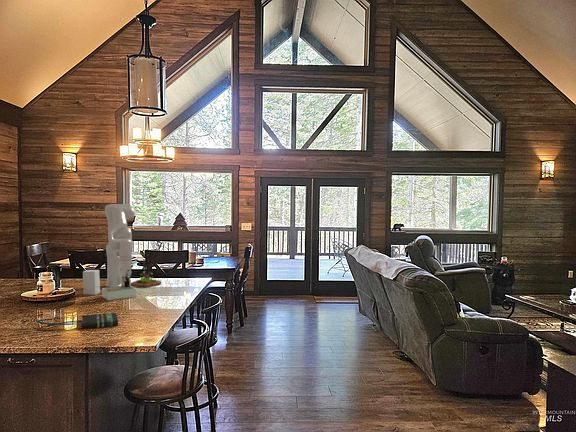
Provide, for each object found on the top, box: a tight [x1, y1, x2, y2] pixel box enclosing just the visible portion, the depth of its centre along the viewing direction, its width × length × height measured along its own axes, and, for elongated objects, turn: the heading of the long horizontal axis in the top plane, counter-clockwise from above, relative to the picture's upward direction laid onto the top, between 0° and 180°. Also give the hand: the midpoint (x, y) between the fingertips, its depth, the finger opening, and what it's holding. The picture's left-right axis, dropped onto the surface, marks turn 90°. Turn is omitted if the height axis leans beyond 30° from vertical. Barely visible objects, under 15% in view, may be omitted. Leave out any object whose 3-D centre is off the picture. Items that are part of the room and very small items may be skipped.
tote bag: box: [36, 312, 119, 332], centre depth 201 cm, size 21×5×35 cm
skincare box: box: [82, 269, 101, 296], centre depth 270 cm, size 8×7×16 cm
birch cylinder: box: [121, 276, 130, 288], centre depth 264 cm, size 5×5×7 cm
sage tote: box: [101, 285, 137, 302], centre depth 262 cm, size 13×17×6 cm
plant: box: [130, 270, 162, 289], centre depth 302 cm, size 20×20×11 cm
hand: (125, 286), depth 264 cm, fingers closed on birch cylinder, 4 cm apart
